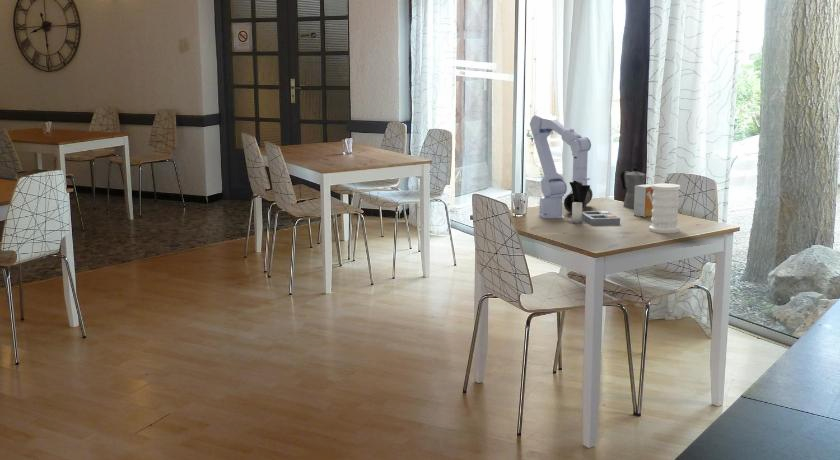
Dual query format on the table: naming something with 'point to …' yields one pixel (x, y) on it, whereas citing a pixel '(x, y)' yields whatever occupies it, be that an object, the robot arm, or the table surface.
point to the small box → (643, 200)
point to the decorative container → (665, 208)
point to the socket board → (600, 218)
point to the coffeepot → (631, 185)
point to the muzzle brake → (576, 200)
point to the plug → (576, 212)
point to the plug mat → (577, 223)
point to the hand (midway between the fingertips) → (579, 200)
